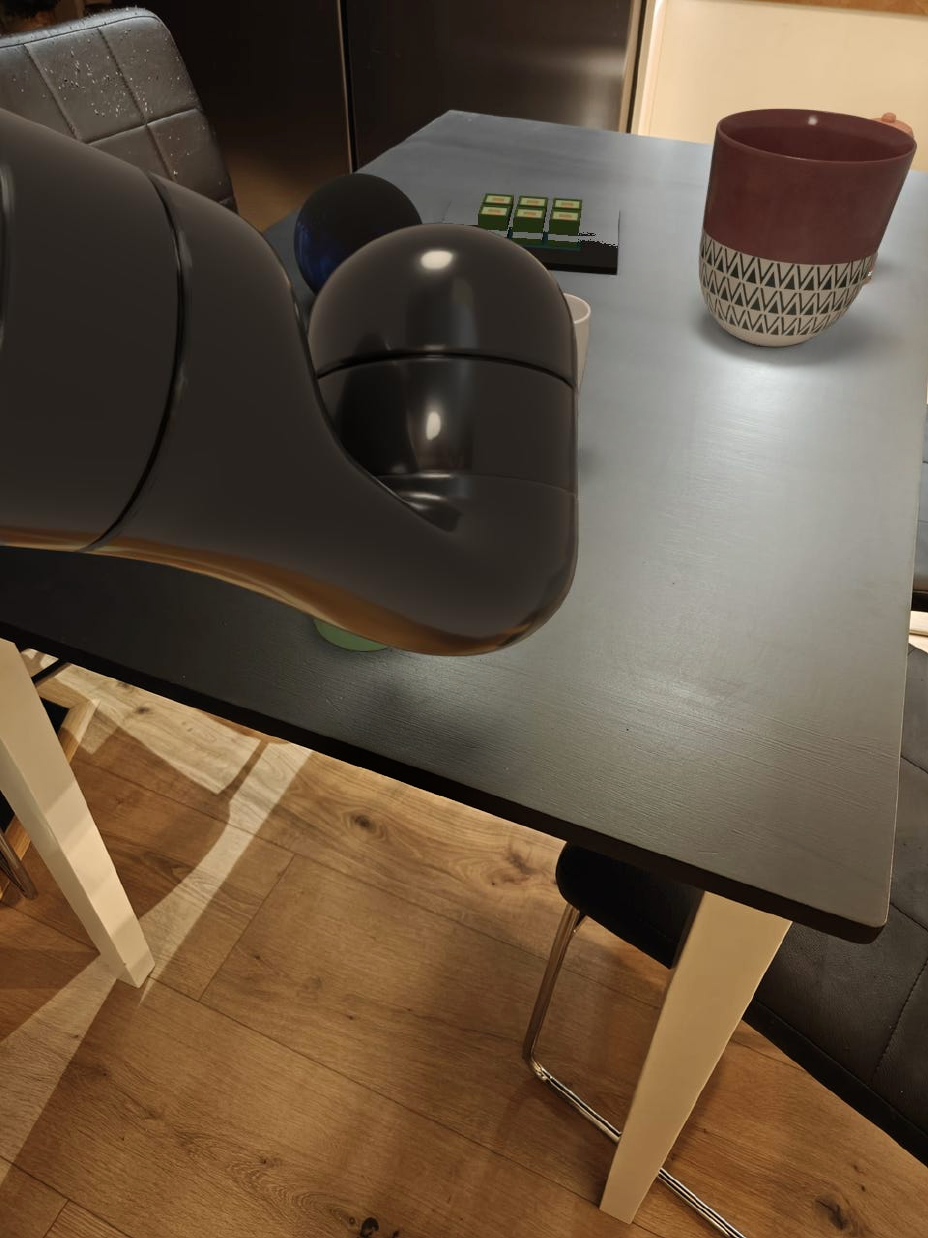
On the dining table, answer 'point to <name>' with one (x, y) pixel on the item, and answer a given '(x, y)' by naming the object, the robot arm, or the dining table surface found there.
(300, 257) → the decorative sphere
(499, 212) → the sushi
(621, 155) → the dining table surface
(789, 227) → the planter
